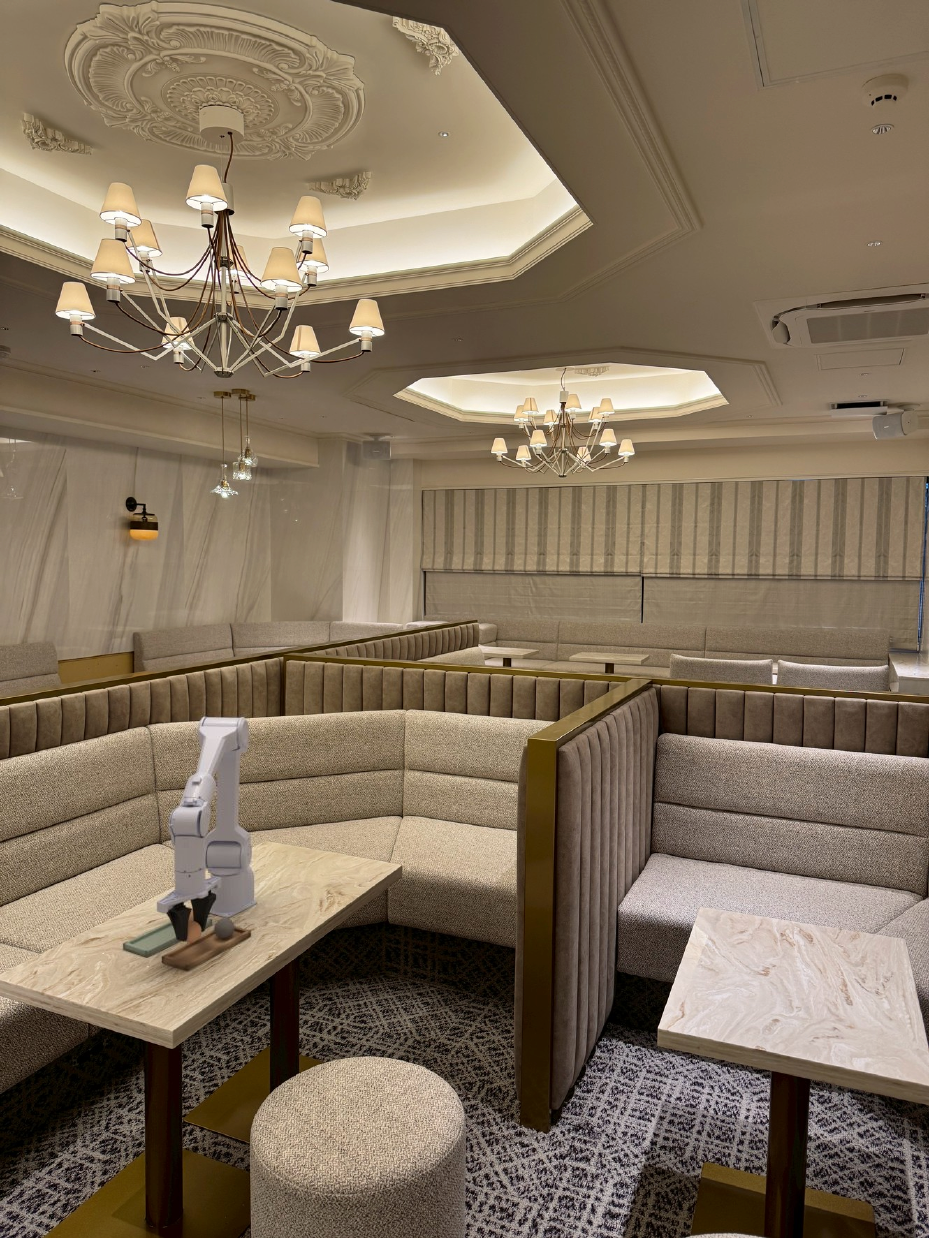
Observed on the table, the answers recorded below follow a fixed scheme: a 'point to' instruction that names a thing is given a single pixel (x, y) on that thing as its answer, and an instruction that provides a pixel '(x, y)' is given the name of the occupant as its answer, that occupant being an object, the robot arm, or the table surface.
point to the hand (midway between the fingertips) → (190, 935)
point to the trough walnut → (203, 949)
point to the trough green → (154, 940)
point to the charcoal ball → (224, 928)
